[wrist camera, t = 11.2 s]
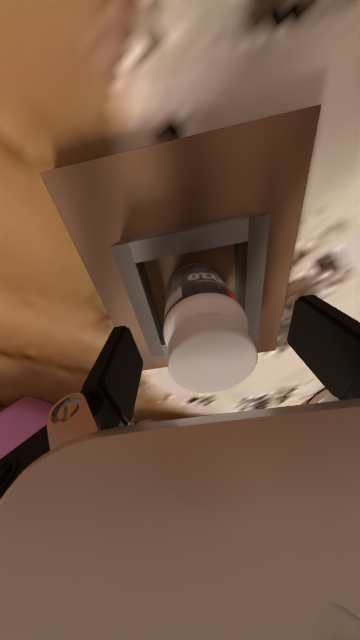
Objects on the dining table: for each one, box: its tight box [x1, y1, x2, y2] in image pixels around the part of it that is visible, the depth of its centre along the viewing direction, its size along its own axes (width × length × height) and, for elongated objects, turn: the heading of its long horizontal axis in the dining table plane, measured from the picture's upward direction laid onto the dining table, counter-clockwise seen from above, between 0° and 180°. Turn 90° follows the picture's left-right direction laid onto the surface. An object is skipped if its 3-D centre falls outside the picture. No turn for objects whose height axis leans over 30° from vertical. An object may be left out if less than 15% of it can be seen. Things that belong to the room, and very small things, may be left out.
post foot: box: [40, 105, 321, 370], centre depth 14 cm, size 16×18×4 cm
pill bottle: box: [163, 263, 258, 393], centre depth 11 cm, size 5×5×8 cm
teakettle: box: [0, 396, 54, 459], centre depth 23 cm, size 17×17×12 cm
